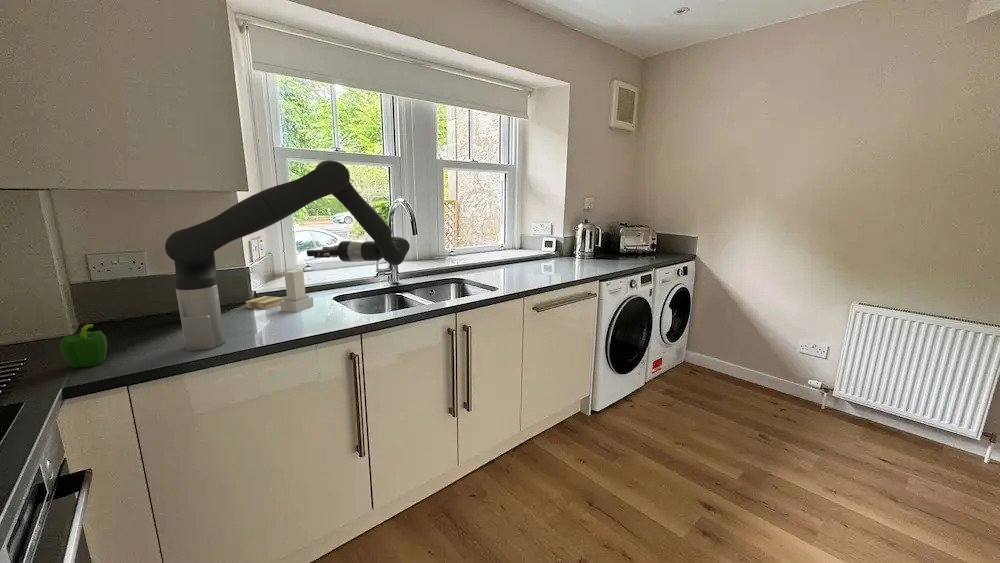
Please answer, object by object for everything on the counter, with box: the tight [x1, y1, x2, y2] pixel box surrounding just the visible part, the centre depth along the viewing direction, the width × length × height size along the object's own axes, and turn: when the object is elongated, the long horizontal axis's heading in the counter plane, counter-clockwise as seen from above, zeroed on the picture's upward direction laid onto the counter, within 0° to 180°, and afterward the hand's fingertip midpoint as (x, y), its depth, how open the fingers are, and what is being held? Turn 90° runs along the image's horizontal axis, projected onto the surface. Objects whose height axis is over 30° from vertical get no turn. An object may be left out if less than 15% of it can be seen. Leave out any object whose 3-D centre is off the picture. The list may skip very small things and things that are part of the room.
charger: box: [284, 269, 307, 299], centre depth 149 cm, size 5×4×11 cm
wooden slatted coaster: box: [245, 295, 284, 310], centre depth 154 cm, size 9×9×2 cm
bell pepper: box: [58, 323, 108, 369], centre depth 99 cm, size 8×8×10 cm
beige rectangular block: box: [279, 294, 315, 313], centre depth 151 cm, size 9×7×4 cm
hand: (315, 251), depth 144 cm, fingers open, 8 cm apart
